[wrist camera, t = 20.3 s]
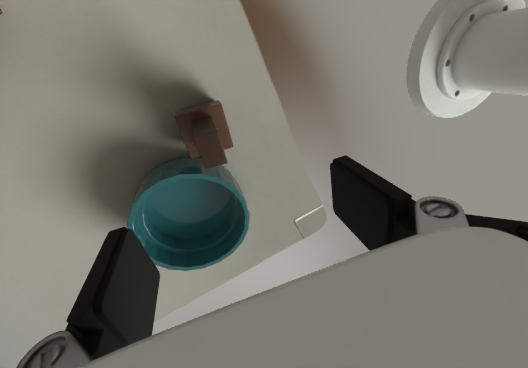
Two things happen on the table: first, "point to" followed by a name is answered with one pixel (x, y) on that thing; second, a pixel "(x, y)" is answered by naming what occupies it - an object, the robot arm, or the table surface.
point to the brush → (205, 132)
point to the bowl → (189, 215)
